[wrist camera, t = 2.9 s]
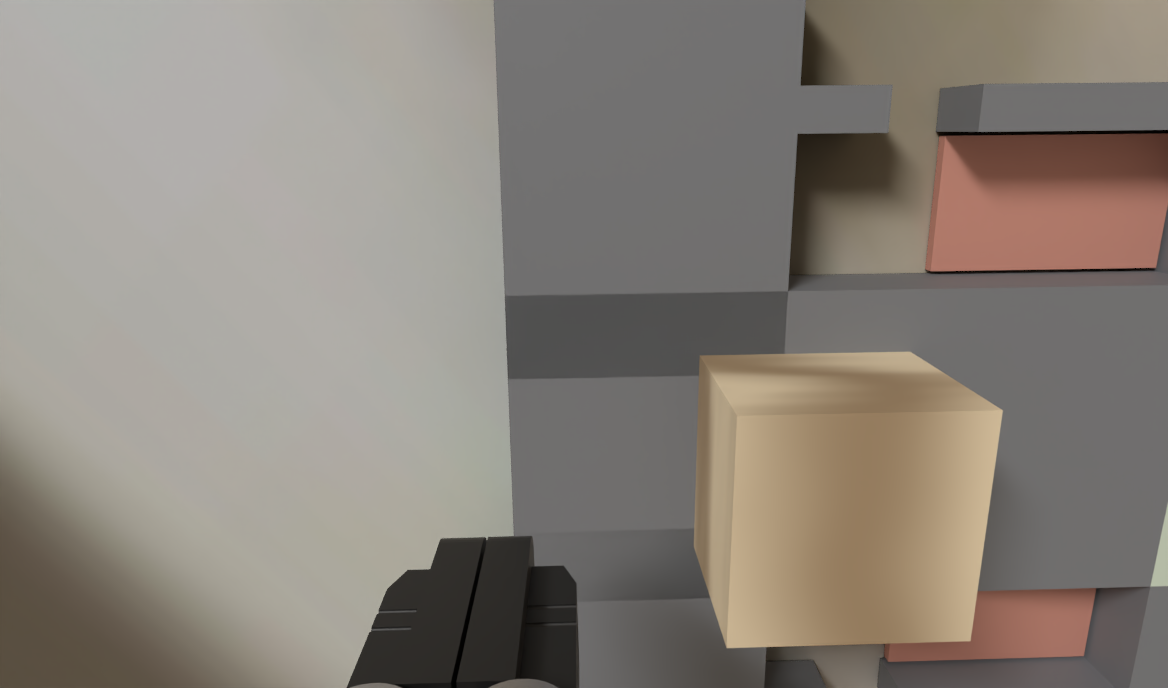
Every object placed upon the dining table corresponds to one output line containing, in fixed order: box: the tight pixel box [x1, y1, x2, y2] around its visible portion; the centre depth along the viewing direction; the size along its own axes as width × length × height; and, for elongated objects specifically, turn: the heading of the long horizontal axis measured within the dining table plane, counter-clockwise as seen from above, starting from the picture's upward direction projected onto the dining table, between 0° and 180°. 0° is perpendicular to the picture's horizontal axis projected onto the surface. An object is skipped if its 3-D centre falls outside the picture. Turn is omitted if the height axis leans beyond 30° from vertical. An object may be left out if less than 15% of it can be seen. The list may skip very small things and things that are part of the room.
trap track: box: [494, 0, 1168, 688], centre depth 19 cm, size 23×22×4 cm
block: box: [694, 352, 1003, 648], centre depth 17 cm, size 5×5×4 cm
